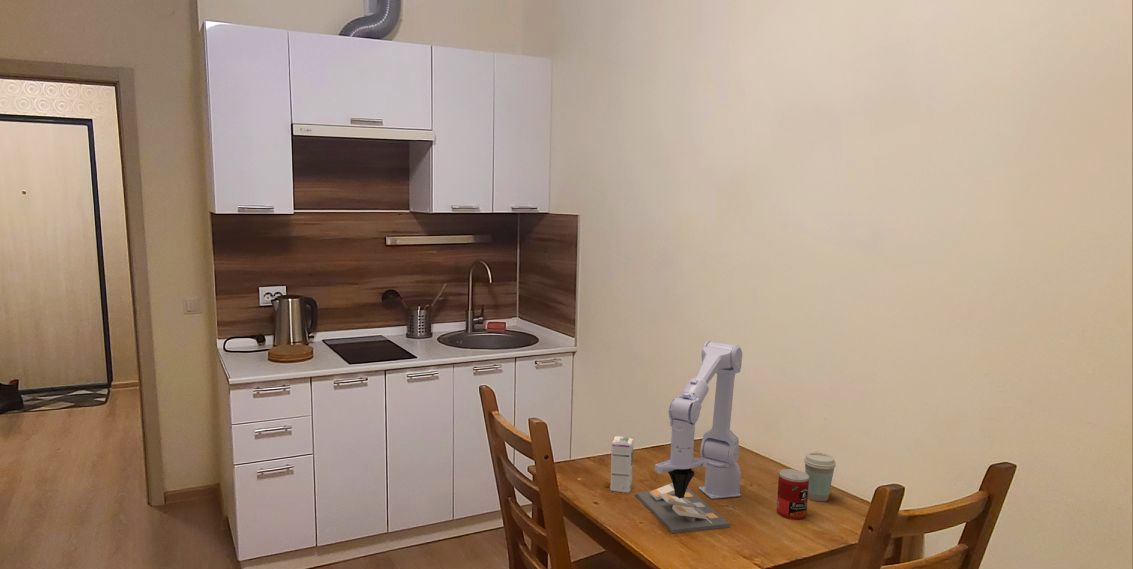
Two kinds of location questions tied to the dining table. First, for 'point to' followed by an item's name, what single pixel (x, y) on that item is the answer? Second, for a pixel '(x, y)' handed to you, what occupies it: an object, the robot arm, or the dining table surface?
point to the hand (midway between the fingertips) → (679, 496)
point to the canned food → (792, 493)
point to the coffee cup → (819, 475)
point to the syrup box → (621, 464)
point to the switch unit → (680, 522)
